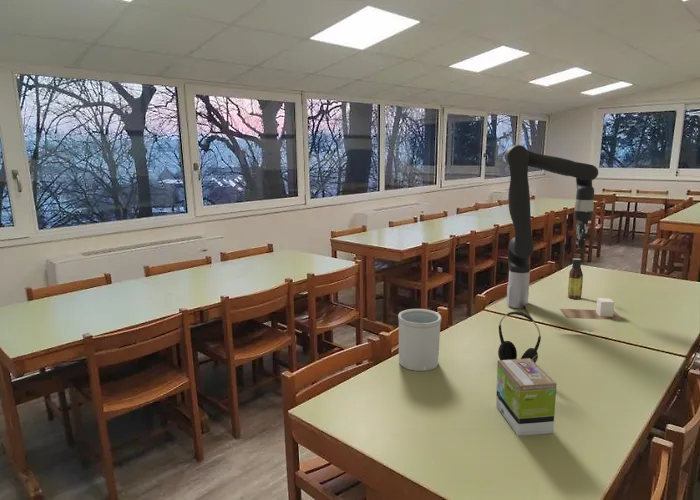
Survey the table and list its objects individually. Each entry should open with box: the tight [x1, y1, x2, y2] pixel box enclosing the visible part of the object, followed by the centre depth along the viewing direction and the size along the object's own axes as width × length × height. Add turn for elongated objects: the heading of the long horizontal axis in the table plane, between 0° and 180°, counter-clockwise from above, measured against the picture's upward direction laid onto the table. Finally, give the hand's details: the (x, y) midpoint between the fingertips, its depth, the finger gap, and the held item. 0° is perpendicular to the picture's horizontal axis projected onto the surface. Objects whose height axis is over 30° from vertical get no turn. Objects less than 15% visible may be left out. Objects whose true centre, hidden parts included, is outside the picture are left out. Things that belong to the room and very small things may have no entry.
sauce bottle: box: [567, 257, 584, 300], centre depth 228 cm, size 6×6×20 cm
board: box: [559, 308, 625, 321], centre depth 202 cm, size 23×12×2 cm, turn 80°
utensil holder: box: [397, 308, 442, 372], centre depth 160 cm, size 15×15×18 cm
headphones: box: [497, 310, 542, 364], centre depth 154 cm, size 9×15×20 cm, turn 43°
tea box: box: [495, 358, 557, 437], centre depth 125 cm, size 15×10×15 cm, turn 5°
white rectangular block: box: [595, 297, 615, 317], centre depth 201 cm, size 5×5×7 cm
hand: (580, 247), depth 210 cm, fingers closed
